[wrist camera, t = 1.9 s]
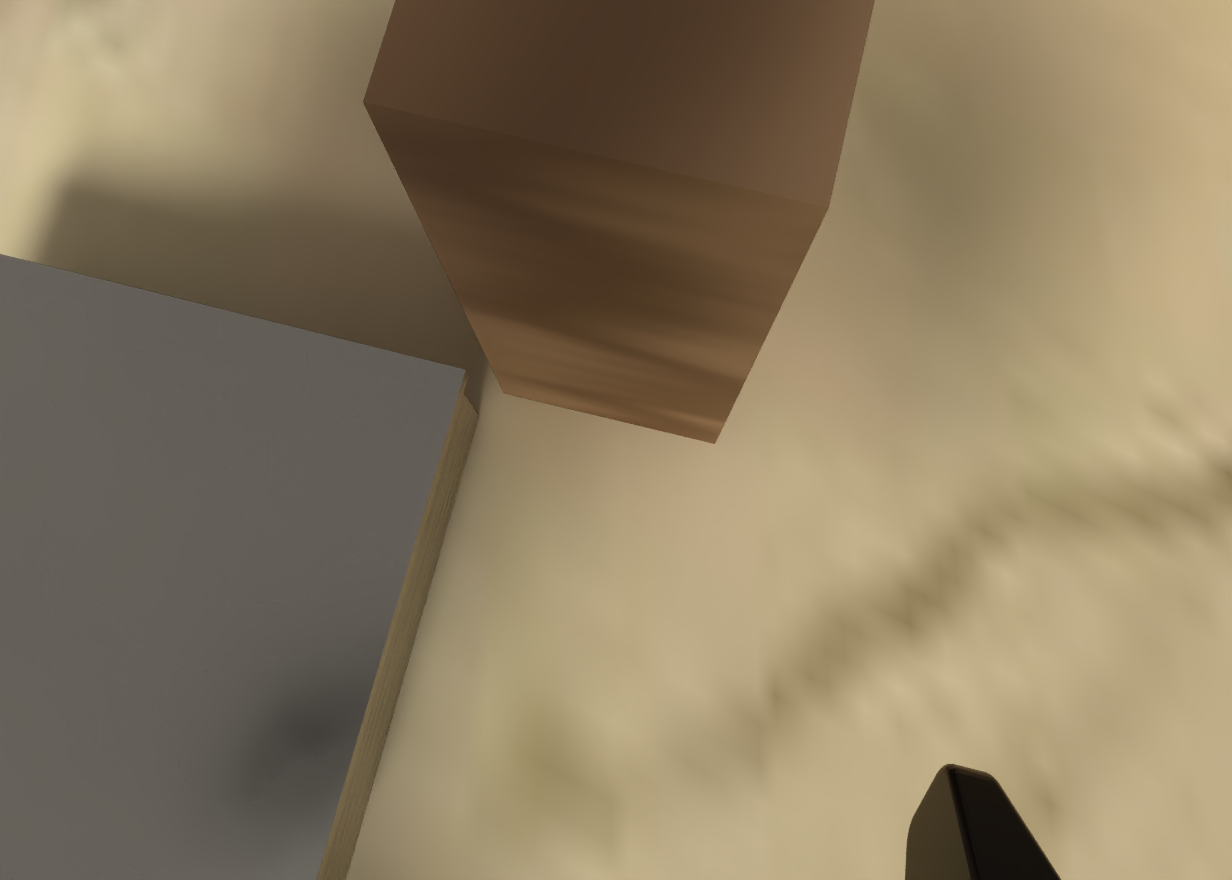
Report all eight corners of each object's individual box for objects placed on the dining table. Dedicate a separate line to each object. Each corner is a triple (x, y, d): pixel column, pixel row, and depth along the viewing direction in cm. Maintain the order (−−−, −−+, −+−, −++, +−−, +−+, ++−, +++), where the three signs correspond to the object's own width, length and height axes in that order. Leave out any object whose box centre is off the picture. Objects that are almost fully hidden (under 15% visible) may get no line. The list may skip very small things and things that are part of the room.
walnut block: (761, 243, 24) (917, -200, 11) (714, 443, 23) (828, 207, 10) (558, 196, 24) (488, -288, 12) (504, 392, 23) (363, 102, 11)
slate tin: (491, 413, 24) (465, 369, 20) (347, 918, 22) (286, 980, 18) (35, 300, 24) (-78, 234, 20) (-149, 780, 22) (-314, 810, 18)
